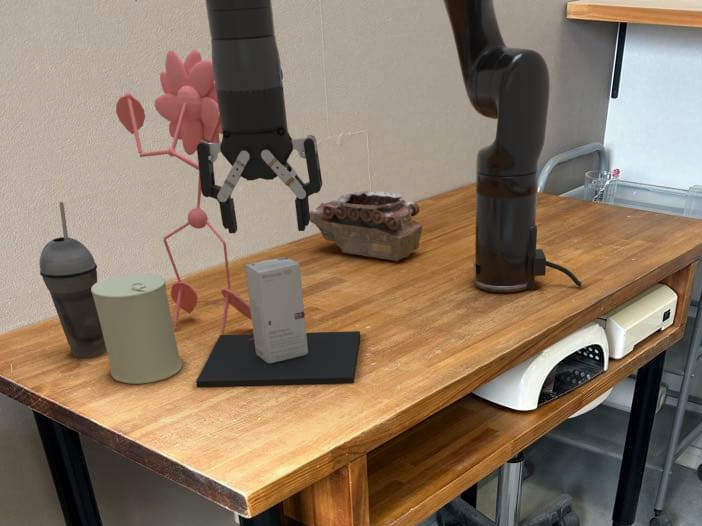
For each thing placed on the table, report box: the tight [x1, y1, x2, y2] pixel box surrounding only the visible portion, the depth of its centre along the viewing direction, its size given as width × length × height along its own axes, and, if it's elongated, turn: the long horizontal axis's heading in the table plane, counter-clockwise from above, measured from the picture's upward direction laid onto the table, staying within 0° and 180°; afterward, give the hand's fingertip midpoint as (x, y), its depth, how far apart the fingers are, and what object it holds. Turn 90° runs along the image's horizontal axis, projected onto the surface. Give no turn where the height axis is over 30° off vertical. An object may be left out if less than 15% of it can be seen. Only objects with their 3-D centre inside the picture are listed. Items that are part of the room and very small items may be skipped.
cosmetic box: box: [244, 257, 308, 364], centre depth 111 cm, size 6×4×12 cm
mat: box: [195, 330, 361, 388], centre depth 115 cm, size 20×16×1 cm
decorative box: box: [309, 190, 424, 262], centre depth 152 cm, size 13×20×10 cm, turn 53°
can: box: [91, 272, 183, 385], centre depth 111 cm, size 9×9×12 cm
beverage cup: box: [39, 201, 107, 359], centre depth 114 cm, size 7×7×20 cm
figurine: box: [115, 49, 254, 340], centre depth 119 cm, size 15×26×35 cm, turn 59°
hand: (267, 230), depth 105 cm, fingers open, 8 cm apart
